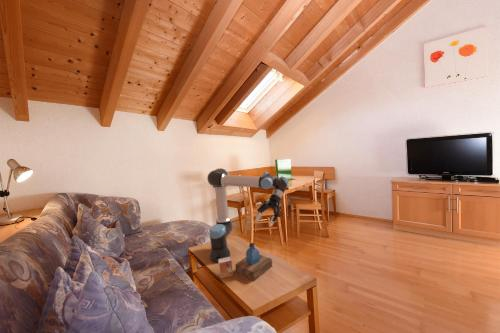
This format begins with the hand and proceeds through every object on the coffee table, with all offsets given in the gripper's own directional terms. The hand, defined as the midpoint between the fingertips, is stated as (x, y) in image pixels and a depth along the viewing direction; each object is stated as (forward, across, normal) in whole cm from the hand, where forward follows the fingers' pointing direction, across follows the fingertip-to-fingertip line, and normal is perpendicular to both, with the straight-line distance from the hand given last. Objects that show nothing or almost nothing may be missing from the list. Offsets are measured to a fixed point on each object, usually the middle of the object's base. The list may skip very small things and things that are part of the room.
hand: (263, 223), depth 149 cm
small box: (+39, +9, 0) cm, 40 cm away
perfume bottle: (+24, 0, -8) cm, 25 cm away
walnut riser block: (+28, 0, -12) cm, 31 cm away
